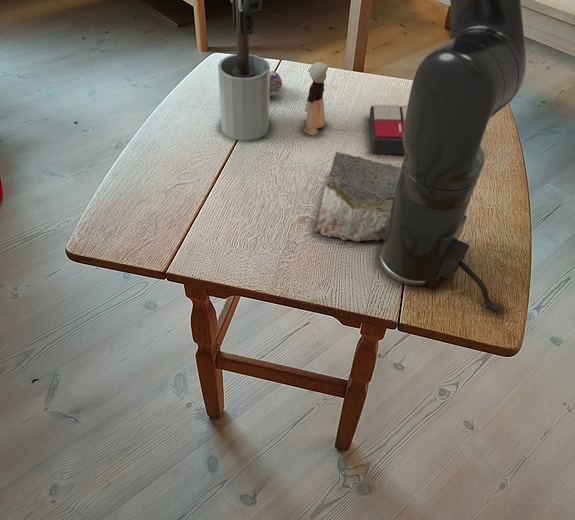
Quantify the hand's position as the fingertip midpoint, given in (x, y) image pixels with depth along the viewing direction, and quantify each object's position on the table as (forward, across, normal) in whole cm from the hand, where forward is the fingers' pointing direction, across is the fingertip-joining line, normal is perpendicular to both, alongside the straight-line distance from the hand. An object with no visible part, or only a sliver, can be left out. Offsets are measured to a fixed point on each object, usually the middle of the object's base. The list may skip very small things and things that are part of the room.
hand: (243, 29), depth 87 cm
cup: (+18, 0, 0) cm, 18 cm away
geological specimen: (+18, -28, -8) cm, 34 cm away
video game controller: (+18, +9, -6) cm, 22 cm away
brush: (+12, 0, 0) cm, 12 cm away
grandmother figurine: (+18, -5, -12) cm, 22 cm away
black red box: (+18, -15, -27) cm, 36 cm away
